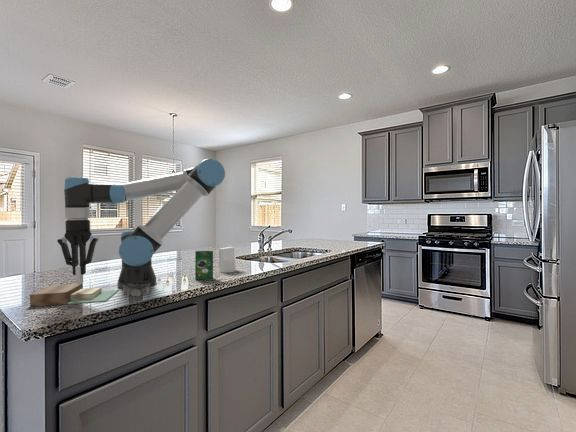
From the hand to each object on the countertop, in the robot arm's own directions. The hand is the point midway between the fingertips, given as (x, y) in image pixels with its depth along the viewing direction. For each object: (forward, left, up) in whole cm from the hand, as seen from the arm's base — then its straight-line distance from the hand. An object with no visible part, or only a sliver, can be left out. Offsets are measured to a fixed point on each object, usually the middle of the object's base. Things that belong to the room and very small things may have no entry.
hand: (79, 283), depth 117 cm
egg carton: (-19, -2, -6) cm, 20 cm away
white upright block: (-55, -37, -6) cm, 67 cm away
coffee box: (-44, -20, -6) cm, 49 cm away
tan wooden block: (+7, 0, -5) cm, 9 cm away
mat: (-5, 0, -5) cm, 7 cm away
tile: (-2, 0, -5) cm, 5 cm away
